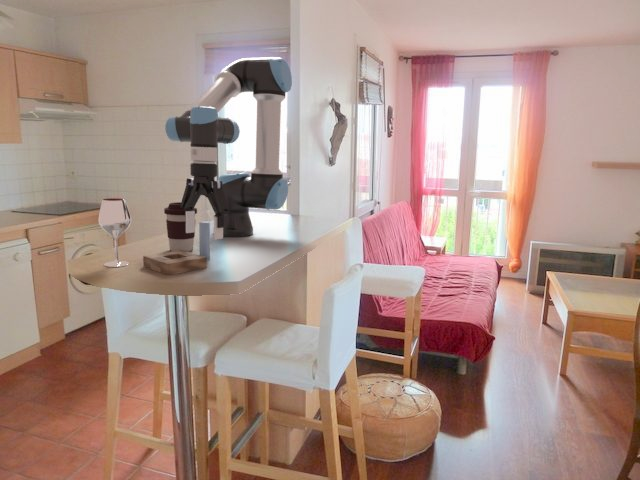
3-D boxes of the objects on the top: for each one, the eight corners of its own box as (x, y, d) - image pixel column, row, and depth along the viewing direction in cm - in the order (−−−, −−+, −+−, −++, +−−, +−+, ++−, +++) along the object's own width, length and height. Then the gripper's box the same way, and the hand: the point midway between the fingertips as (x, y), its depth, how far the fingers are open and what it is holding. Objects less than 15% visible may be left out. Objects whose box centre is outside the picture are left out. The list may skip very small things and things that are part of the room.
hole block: (181, 260, 141) (181, 250, 140) (206, 267, 133) (206, 257, 132) (143, 266, 132) (143, 256, 131) (168, 275, 124) (167, 263, 123)
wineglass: (106, 260, 137) (103, 197, 133) (136, 261, 137) (134, 198, 134) (96, 267, 129) (92, 200, 125) (127, 268, 129) (125, 201, 126)
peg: (205, 257, 145) (205, 221, 143) (212, 259, 143) (211, 222, 141) (197, 258, 143) (197, 222, 141) (203, 260, 141) (203, 223, 139)
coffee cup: (188, 254, 149) (187, 206, 146) (159, 251, 150) (158, 204, 148) (202, 248, 158) (202, 202, 155) (174, 246, 160) (173, 201, 157)
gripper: (168, 160, 143) (168, 231, 147) (220, 164, 127) (220, 243, 131) (189, 161, 149) (189, 229, 152) (242, 164, 133) (241, 240, 137)
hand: (203, 235), depth 142 cm, fingers open, 13 cm apart
